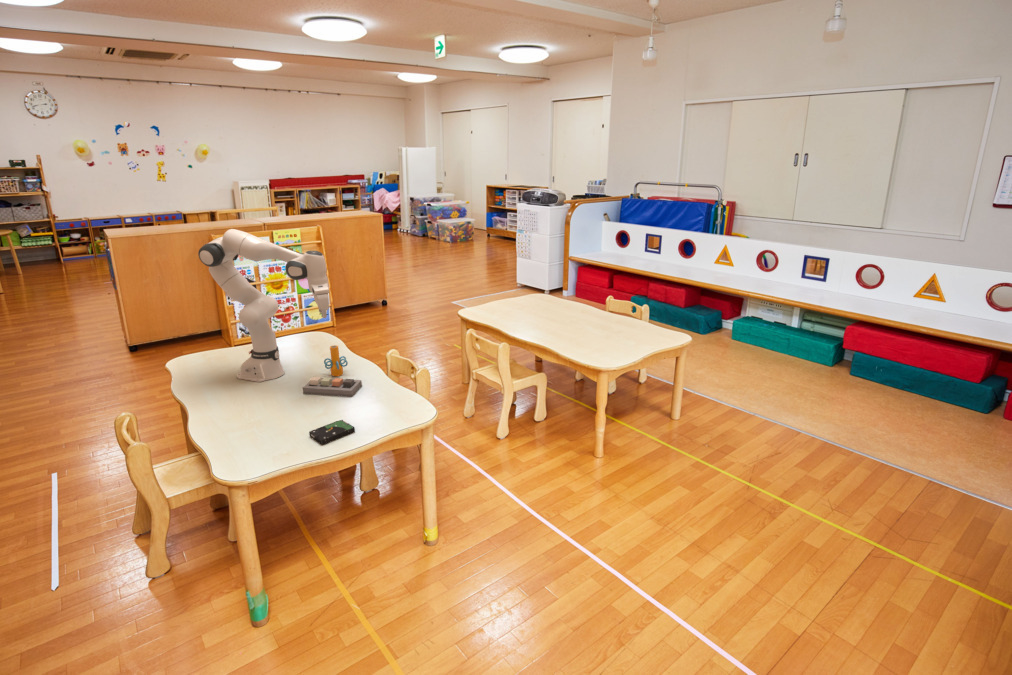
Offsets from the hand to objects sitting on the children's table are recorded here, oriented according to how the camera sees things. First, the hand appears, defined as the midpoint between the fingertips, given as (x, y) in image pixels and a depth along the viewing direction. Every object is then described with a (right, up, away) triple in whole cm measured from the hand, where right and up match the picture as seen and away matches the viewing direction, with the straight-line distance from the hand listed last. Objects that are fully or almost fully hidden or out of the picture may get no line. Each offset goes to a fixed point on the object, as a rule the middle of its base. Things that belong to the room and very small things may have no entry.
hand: (322, 315), depth 260 cm
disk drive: (+16, -50, -35) cm, 63 cm away
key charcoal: (+12, -33, +2) cm, 35 cm away
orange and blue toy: (0, -29, +22) cm, 37 cm away
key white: (-5, -32, +4) cm, 33 cm away
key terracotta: (+6, -33, +3) cm, 34 cm away
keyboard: (+3, -36, +4) cm, 36 cm away
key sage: (+1, -33, +3) cm, 33 cm away
